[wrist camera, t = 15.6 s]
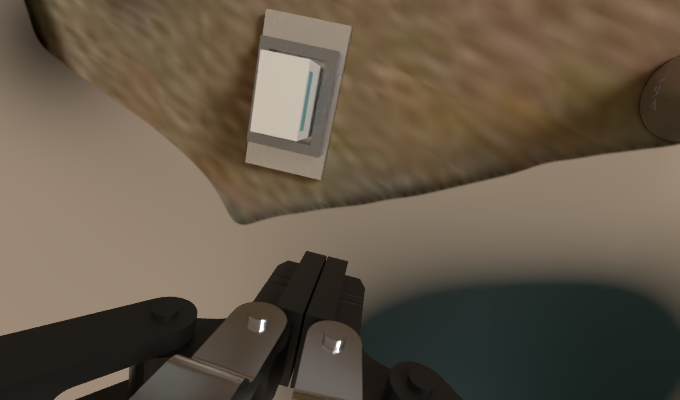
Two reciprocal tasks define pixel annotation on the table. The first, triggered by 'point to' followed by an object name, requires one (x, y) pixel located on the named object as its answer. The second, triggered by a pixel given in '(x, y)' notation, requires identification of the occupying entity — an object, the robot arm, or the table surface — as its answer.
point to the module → (285, 96)
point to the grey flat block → (331, 54)
